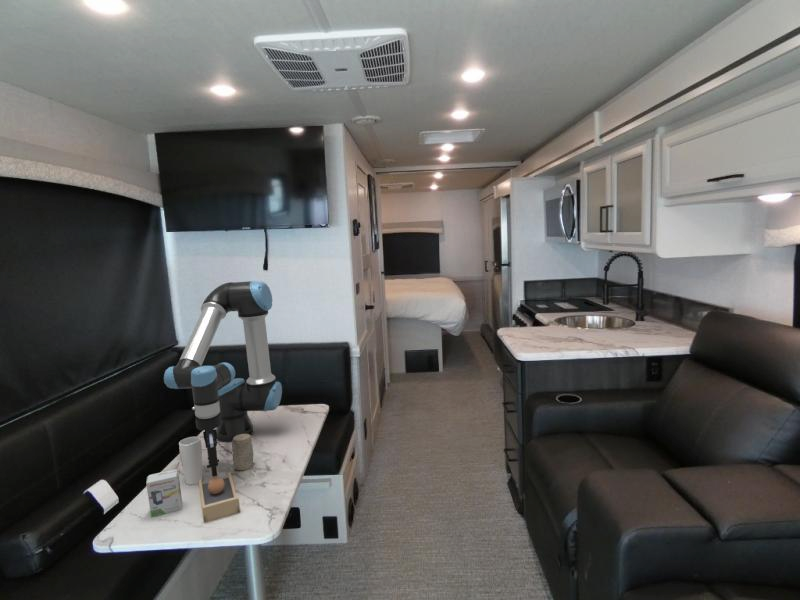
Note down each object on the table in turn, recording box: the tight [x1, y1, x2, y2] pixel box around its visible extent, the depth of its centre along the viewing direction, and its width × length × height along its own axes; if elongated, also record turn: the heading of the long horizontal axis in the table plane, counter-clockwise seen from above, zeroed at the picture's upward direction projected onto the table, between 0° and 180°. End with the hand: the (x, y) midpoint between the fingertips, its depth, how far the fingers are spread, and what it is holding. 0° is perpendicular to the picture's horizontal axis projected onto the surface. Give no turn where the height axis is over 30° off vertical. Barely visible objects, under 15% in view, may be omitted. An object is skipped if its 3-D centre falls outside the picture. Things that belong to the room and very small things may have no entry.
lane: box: [198, 471, 241, 523], centre depth 148 cm, size 24×10×5 cm, turn 26°
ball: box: [208, 476, 225, 494], centre depth 151 cm, size 5×5×5 cm
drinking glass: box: [178, 436, 204, 486], centre depth 159 cm, size 7×7×15 cm
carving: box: [231, 434, 255, 471], centre depth 167 cm, size 6×8×12 cm
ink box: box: [145, 469, 183, 518], centre depth 142 cm, size 9×5×12 cm, turn 114°
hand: (215, 483), depth 154 cm, fingers closed
